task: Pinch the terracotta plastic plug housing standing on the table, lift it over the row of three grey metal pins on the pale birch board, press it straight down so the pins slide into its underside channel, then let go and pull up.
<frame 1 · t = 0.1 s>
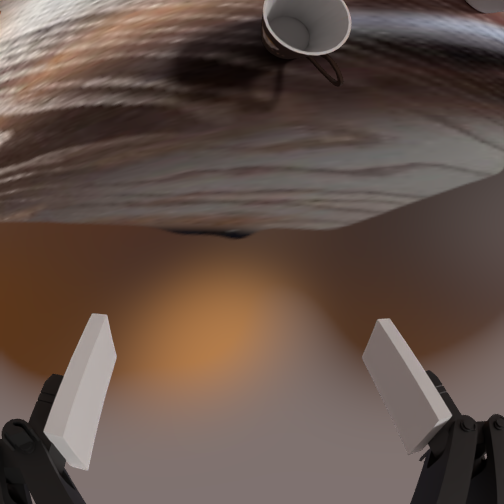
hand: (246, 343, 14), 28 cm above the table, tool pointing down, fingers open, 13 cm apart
coffee mug: (287, 47, 32), on the table
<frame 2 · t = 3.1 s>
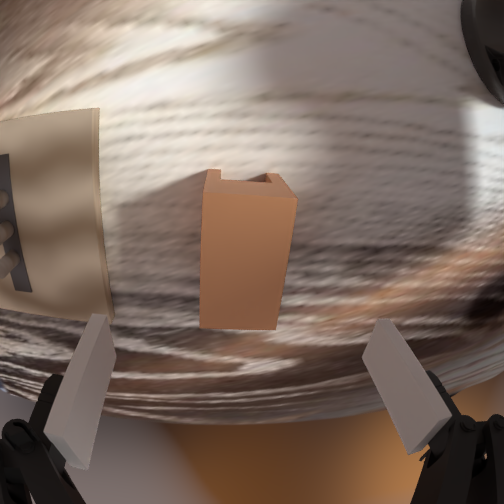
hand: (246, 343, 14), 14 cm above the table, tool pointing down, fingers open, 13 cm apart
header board: (16, 221, 24), on the table
plug housing: (238, 228, 26), on the table
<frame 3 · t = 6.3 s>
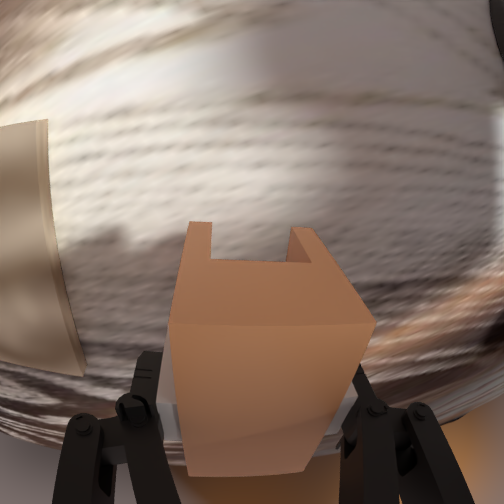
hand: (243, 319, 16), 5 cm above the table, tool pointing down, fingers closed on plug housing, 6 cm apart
plug housing: (242, 314, 16), point 5 cm above the table, touching gripper
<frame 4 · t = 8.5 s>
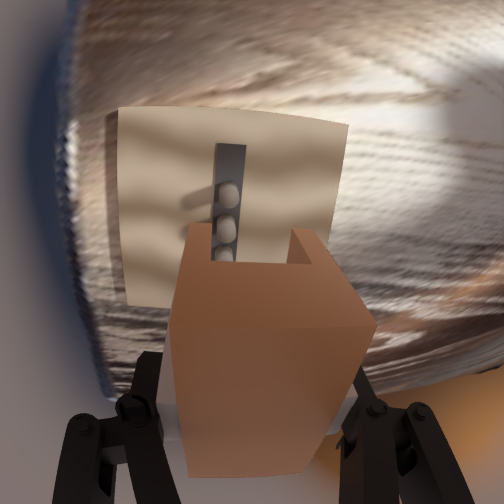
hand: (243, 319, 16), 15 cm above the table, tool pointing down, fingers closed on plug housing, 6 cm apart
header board: (225, 215, 29), on the table
plug housing: (243, 315, 16), point 15 cm above the table, touching gripper
when the fingers open (2 cm above the table, at t = 10.9 s): plug housing stays where it is, resting on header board.
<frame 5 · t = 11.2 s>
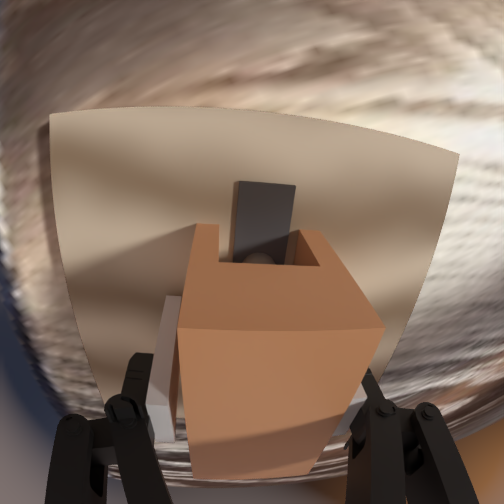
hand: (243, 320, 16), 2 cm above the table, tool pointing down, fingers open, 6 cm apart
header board: (249, 299, 17), on the table
plug housing: (249, 316, 16), point 1 cm above the table, touching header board
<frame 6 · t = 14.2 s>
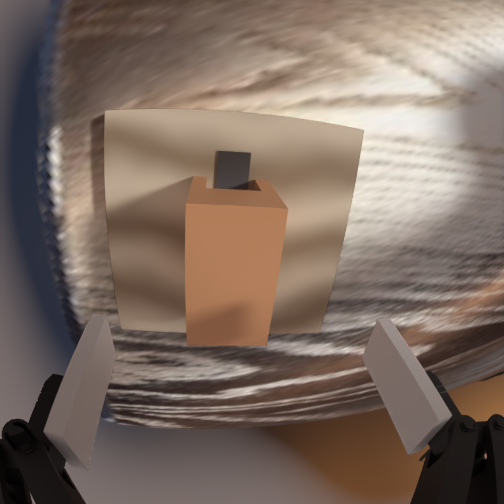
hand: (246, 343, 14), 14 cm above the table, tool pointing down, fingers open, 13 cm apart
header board: (226, 231, 26), on the table
plug housing: (226, 238, 25), point 1 cm above the table, touching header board
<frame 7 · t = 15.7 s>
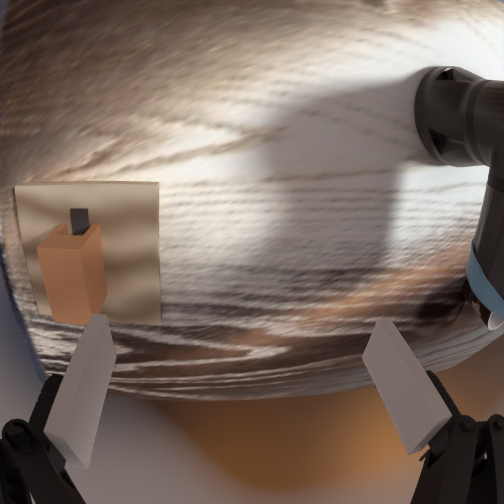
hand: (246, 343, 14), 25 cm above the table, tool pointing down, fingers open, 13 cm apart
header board: (88, 254, 37), on the table
plug housing: (84, 259, 36), point 1 cm above the table, touching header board
coffee mug: (470, 289, 51), on the table
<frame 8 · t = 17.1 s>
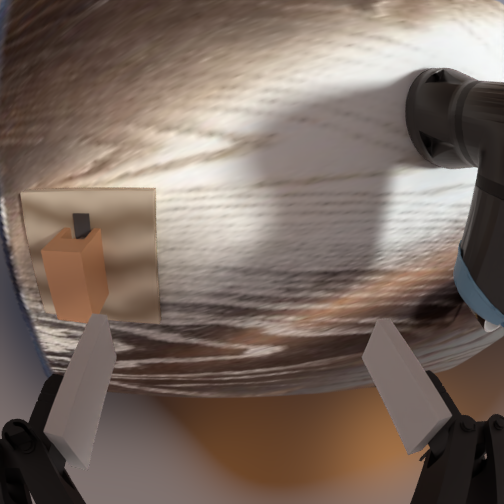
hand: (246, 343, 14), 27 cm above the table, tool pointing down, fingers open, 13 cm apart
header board: (90, 256, 40), on the table
plug housing: (86, 261, 38), point 1 cm above the table, touching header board
coffee mug: (468, 290, 51), on the table
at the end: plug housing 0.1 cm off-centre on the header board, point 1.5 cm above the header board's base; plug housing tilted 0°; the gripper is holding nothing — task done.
